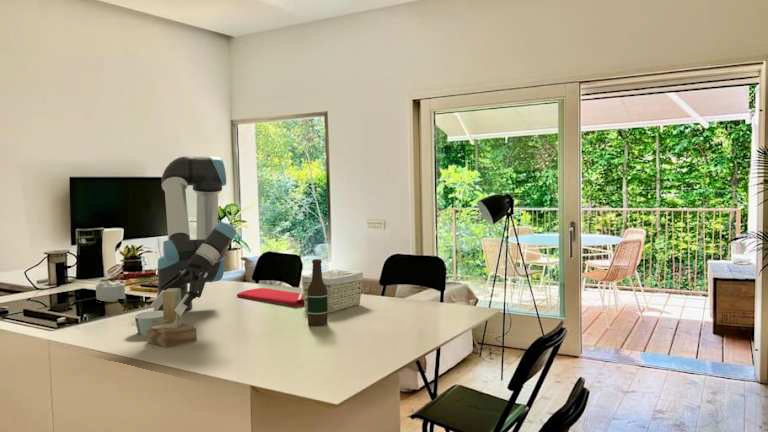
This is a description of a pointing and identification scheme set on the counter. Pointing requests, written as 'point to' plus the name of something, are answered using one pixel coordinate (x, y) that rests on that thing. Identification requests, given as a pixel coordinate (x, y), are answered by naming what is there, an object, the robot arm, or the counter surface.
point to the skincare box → (171, 307)
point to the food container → (148, 321)
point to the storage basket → (338, 288)
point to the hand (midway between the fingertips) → (165, 310)
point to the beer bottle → (317, 297)
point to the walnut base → (172, 335)
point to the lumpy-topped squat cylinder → (110, 291)
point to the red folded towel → (273, 296)
